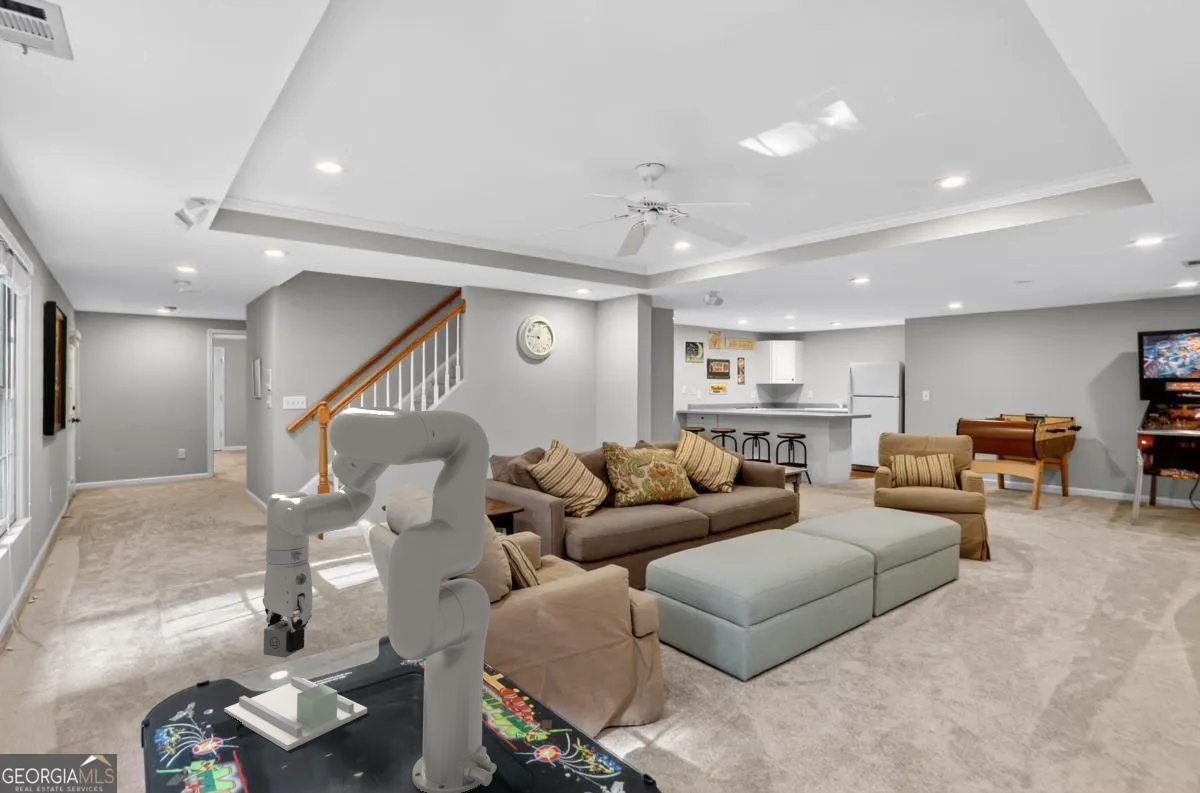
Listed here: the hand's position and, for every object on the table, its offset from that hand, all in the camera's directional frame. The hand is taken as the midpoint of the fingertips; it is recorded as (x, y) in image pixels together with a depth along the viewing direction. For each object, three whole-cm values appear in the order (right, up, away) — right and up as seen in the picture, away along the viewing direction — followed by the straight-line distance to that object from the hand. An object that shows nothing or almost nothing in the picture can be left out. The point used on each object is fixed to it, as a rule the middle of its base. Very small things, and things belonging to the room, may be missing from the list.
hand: (285, 645), depth 123 cm
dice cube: (0, -1, 0) cm, 1 cm away
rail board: (+3, -12, -2) cm, 13 cm away
